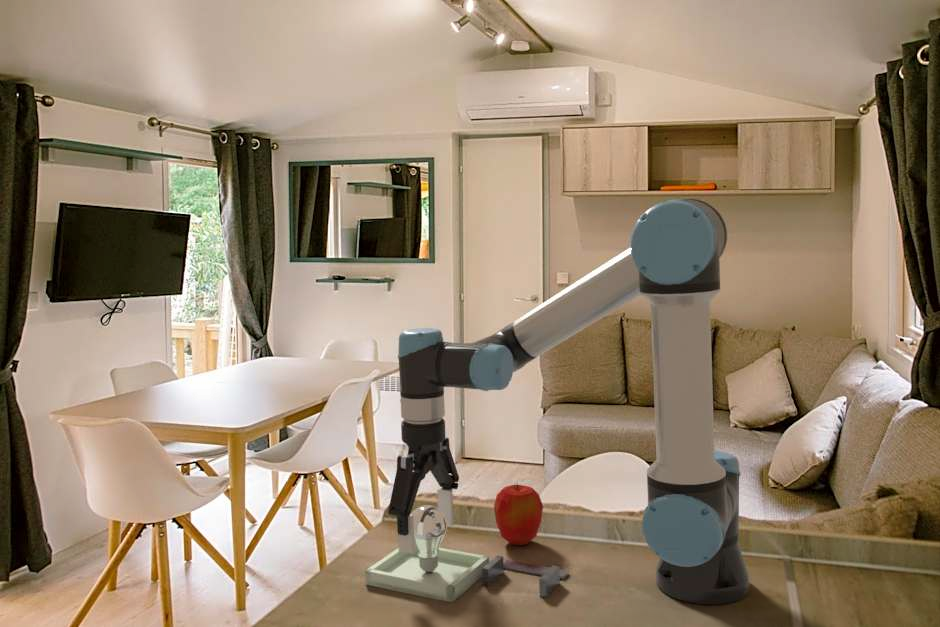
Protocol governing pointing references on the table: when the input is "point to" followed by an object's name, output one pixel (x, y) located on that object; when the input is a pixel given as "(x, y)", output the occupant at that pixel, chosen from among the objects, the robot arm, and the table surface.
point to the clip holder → (546, 582)
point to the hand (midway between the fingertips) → (427, 537)
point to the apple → (518, 513)
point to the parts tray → (428, 574)
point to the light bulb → (428, 535)
